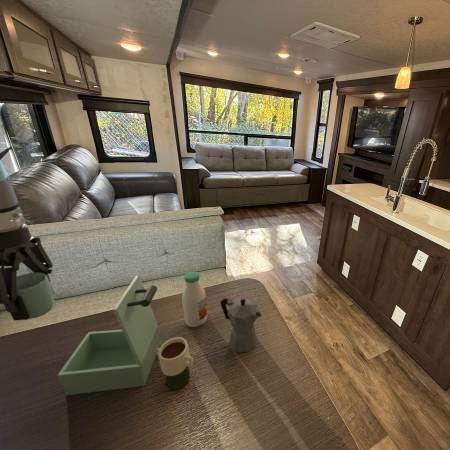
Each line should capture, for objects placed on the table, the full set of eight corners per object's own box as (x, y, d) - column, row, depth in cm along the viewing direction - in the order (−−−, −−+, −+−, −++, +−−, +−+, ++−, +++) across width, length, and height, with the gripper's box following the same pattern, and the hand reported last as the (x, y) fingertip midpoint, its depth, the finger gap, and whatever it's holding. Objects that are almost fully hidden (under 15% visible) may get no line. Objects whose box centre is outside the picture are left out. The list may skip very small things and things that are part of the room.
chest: (66, 395, 64) (57, 375, 61) (94, 350, 76) (88, 332, 73) (144, 385, 68) (140, 366, 65) (160, 344, 80) (156, 326, 77)
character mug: (202, 374, 73) (199, 342, 68) (187, 398, 66) (182, 365, 61) (170, 364, 75) (164, 332, 69) (152, 387, 68) (144, 354, 63)
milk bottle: (192, 331, 86) (187, 285, 78) (180, 320, 90) (174, 275, 82) (211, 319, 92) (208, 274, 84) (199, 309, 96) (195, 266, 88)
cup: (13, 313, 64) (-3, 281, 60) (53, 298, 70) (42, 268, 66) (20, 328, 60) (5, 296, 56) (62, 311, 66) (51, 280, 62)
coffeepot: (266, 338, 86) (268, 298, 79) (251, 360, 78) (252, 317, 71) (230, 322, 91) (229, 283, 84) (213, 341, 83) (210, 299, 76)
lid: (112, 309, 57) (140, 305, 58) (136, 275, 69) (159, 272, 70) (138, 365, 65) (162, 361, 66) (155, 325, 77) (175, 322, 78)
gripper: (-23, 250, 47) (20, 337, 56) (54, 210, 65) (77, 281, 74) (-75, 250, 45) (-22, 340, 54) (19, 210, 63) (47, 282, 73)
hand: (35, 306), depth 64 cm, fingers closed on cup, 8 cm apart
